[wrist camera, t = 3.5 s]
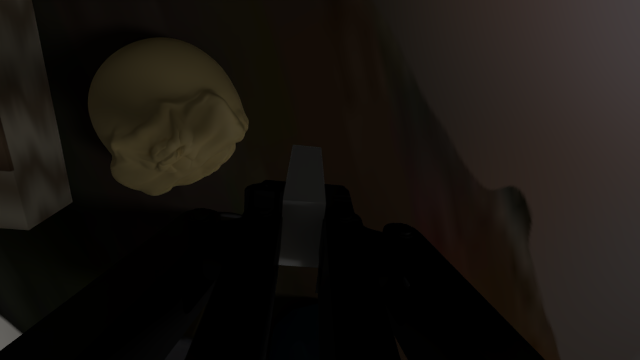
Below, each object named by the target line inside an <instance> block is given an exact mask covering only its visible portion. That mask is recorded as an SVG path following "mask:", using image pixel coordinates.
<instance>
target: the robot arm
mask: <svg viewBox="0 0 640 360" xmlns="http://www.w3.org/2000/svg"><path fill="white" fill-rule="evenodd" d="M318 264H319V269H318V277H317V285H316V293H318V320H319V360H401V359H400V355H399V352H398V348H397V345H396V341H395V338H394V336H395V337H396V339H397V341H398V343H399V345H400V346H401V348H402V350H403V352H404V354H405V355H406V357H407V359H408V360H545V359H544V358H543V357H542V356H541V355H540V354H539V353H538V352H537V351H536V350H535V349H534V348H533V347H532V346H531V345H530V344H529V343H528V342H527V341H526V340H525V339H524V338H523V337H522V336H521V335H520V334H519V333H518V332H517V331H516V330H515V329H514V328H513V327H512V326H511V325H510V324H509V323H508V322H507V321H506V320H505V319H504V318H503V317H502V316H501V315H500V314H499V313H498V312H497V310H496V309H495V308H494V307H493V306H492V305H491V304H490V303H489V302H488V301H487V300H486V299H485V298H484V297H483V296H482V295H481V294H480V293H479V292H478V291H477V290H476V289H475V288H474V287H473V286H472V285H471V284H470V283H469V282H468V281H467V280H466V279H465V278H464V277H463V276H462V275H461V274H460V273H459V272H458V271H457V270H456V269H455V268H454V267H453V266H452V265H451V264H450V263H449V262H448V261H447V260H446V259H445V257H444V256H443V255H442V254H441V253H440V252H439V251H438V250H437V249H436V248H435V247H434V246H433V245H432V244H431V243H430V242H429V241H428V240H427V239H426V238H425V237H424V236H423V235H422V234H421V233H420V232H419V231H418V230H416V229H415V228H413V227H411V226H409V225H407V224H403V223H390V224H387V225H385V226H384V228H383V232H380V231H376V230H372V229H369V228H367V227H365V226H363V223H362V220H361V218H360V217H359V216H358V215H357V214H355V213H354V209H353V206H352V202H351V198H350V194H349V191H348V190H347V189H346V188H345V187H344V186H340V185H329V184H324V175H323V164H322V153H321V148H320V147H310V146H299V145H293V148H292V153H291V158H290V164H289V169H288V174H287V180H286V182H285V181H273V180H265V181H263V182H262V183H258V184H252V185H250V186H247V187H246V189H245V205H244V213H243V215H242V217H240V218H236V219H230V220H221V216H220V214H219V213H218V212H217V211H214V210H211V209H205V208H200V209H199V208H198V209H194V210H190V211H187V212H185V213H183V214H181V215H180V216H179V217H177V218H176V219H175V220H173V221H172V222H171V223H170V224H168V225H167V226H166V227H164V228H163V229H162V230H160V231H159V232H158V233H156V234H155V235H154V236H152V237H151V238H150V239H148V240H147V241H146V242H144V243H143V244H142V245H140V246H139V247H138V248H136V249H135V250H134V251H132V252H131V253H130V254H128V255H127V256H126V257H124V258H123V259H122V260H120V261H119V262H118V263H116V264H115V265H114V266H112V267H111V268H110V269H108V270H107V271H106V272H104V273H103V274H102V275H100V276H99V277H98V278H96V279H95V280H94V281H92V282H91V283H90V284H88V285H87V286H86V287H84V288H83V289H82V290H80V291H79V292H78V293H76V294H75V295H74V296H72V297H71V298H70V299H69V300H67V301H66V302H65V303H63V304H62V305H61V306H59V307H58V308H57V309H55V310H54V311H53V312H51V313H50V314H49V315H47V316H46V317H45V318H43V319H42V320H41V321H39V322H38V323H37V324H35V325H34V326H33V327H31V328H30V329H29V330H27V331H26V332H25V333H23V334H22V335H21V336H19V337H18V338H17V339H15V340H14V341H13V342H12V343H10V344H9V345H7V346H6V347H5V348H3V349H2V350H1V351H0V360H165V358H166V357H167V356H168V354H169V353H170V352H171V350H172V349H173V348H174V346H175V345H176V344H177V342H178V341H179V340H180V338H181V337H182V336H183V334H184V333H185V332H186V330H187V329H188V328H189V326H190V325H191V324H192V322H193V321H194V320H195V318H196V317H197V316H198V314H199V313H200V312H201V310H202V309H203V308H204V306H205V305H206V304H207V305H206V308H205V310H204V313H203V315H202V318H201V320H200V323H199V325H198V328H197V330H196V333H195V335H194V338H193V340H192V343H191V345H190V348H189V350H188V353H187V355H186V358H185V360H266V353H267V346H268V339H269V333H270V326H271V319H272V312H273V305H274V298H275V291H276V284H277V277H278V265H288V266H302V267H317V268H318ZM207 302H208V303H207Z"/></svg>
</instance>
